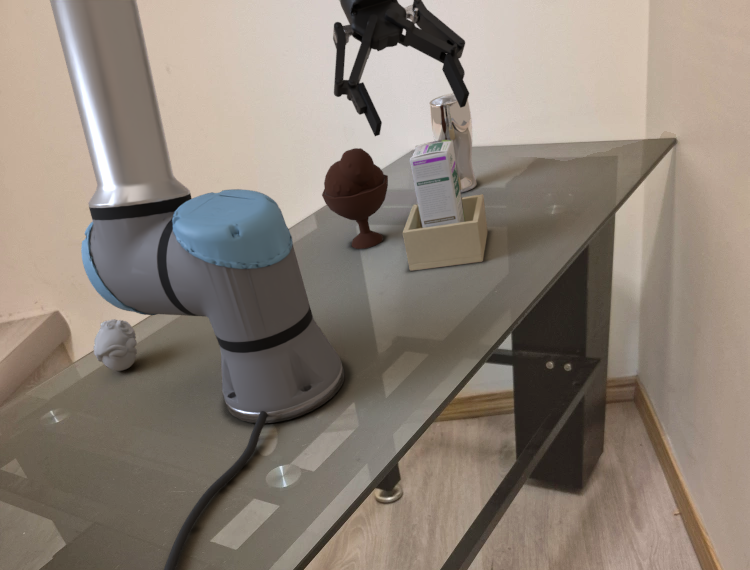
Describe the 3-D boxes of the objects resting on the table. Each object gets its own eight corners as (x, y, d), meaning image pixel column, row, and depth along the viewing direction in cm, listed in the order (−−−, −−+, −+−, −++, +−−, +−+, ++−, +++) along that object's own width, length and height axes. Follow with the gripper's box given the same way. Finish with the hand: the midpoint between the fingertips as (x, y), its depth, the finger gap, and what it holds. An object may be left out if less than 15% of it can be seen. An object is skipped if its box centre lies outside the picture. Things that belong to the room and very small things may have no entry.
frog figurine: (155, 354, 109) (136, 311, 104) (129, 380, 104) (107, 336, 100) (123, 354, 111) (102, 312, 107) (96, 380, 106) (73, 337, 102)
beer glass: (434, 190, 138) (421, 102, 128) (466, 177, 139) (455, 90, 130) (453, 197, 132) (440, 107, 123) (486, 184, 134) (476, 94, 124)
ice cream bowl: (400, 224, 128) (382, 132, 119) (395, 249, 120) (376, 153, 110) (341, 234, 130) (319, 145, 121) (332, 260, 122) (308, 166, 112)
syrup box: (464, 250, 111) (450, 149, 102) (425, 255, 113) (408, 156, 104) (467, 235, 115) (454, 137, 106) (430, 240, 117) (414, 144, 108)
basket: (482, 261, 109) (477, 221, 105) (409, 271, 112) (402, 232, 108) (487, 232, 117) (483, 193, 113) (419, 241, 120) (412, 204, 116)
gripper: (435, -14, 112) (493, 106, 110) (282, 32, 108) (339, 158, 106) (445, -58, 105) (507, 70, 102) (281, -10, 101) (342, 124, 99)
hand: (422, 115), depth 104 cm, fingers open, 13 cm apart
